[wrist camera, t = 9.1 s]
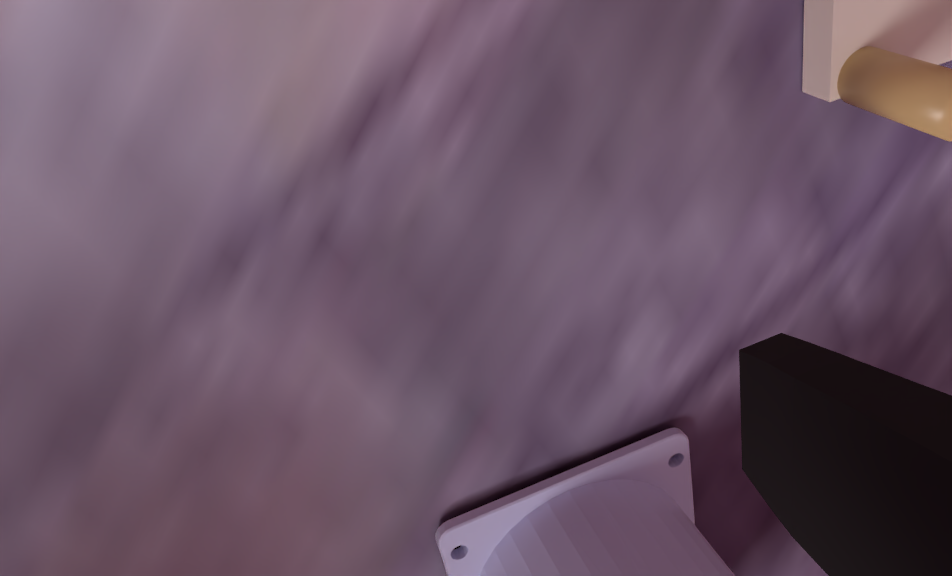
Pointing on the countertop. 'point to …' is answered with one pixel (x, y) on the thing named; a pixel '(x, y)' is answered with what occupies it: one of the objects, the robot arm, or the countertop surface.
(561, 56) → the countertop surface
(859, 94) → the wooden peg board
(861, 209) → the countertop surface
